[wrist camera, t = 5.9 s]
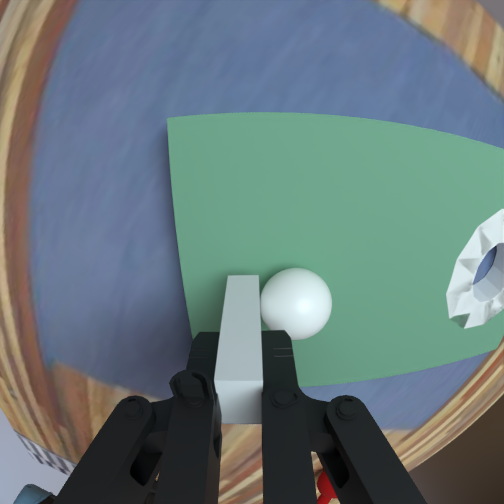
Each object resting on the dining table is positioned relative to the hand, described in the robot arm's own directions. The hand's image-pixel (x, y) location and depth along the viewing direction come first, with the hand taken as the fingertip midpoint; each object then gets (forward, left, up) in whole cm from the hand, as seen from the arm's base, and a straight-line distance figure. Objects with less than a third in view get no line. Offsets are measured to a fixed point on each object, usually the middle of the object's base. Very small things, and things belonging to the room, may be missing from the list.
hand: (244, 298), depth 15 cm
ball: (+3, 0, 0) cm, 3 cm away
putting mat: (+11, 0, -4) cm, 11 cm away
